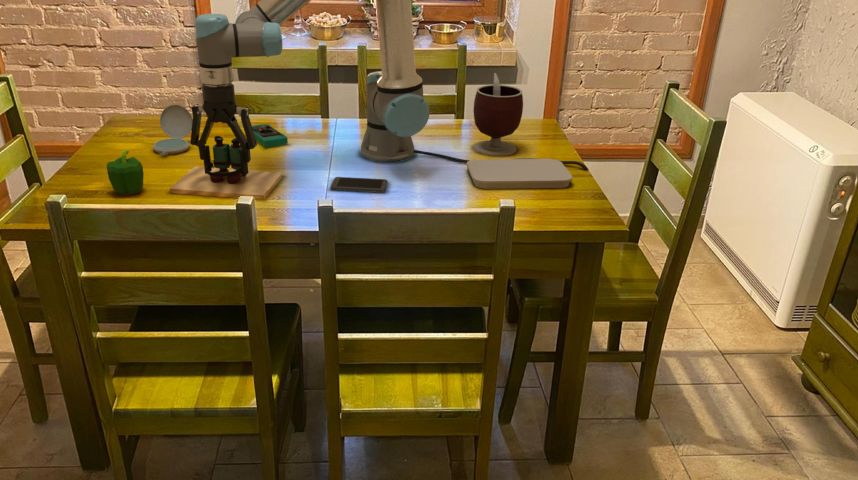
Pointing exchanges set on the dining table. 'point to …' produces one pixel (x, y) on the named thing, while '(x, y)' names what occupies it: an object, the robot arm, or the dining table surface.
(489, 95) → the mate gourd
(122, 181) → the bell pepper
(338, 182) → the cell phone
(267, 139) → the digital multimeter
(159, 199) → the dining table surface
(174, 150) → the grey compact mirror
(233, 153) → the binoculars
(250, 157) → the robot arm
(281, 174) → the serving board
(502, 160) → the tablet
